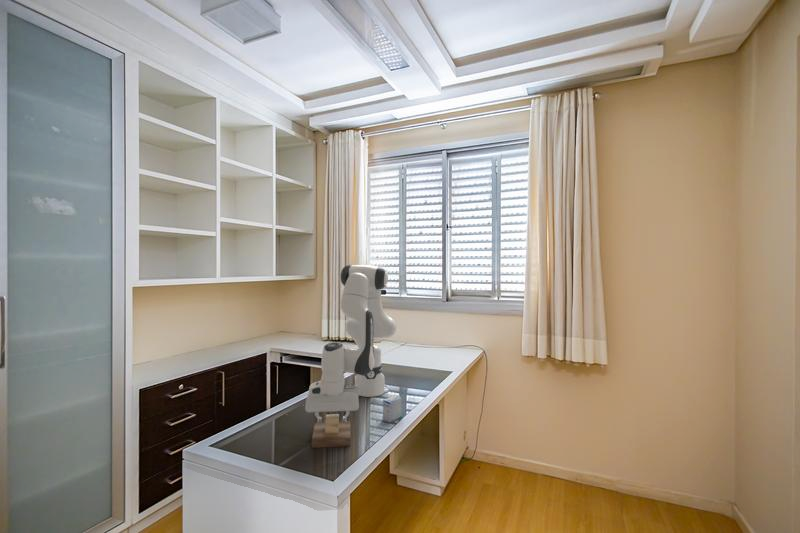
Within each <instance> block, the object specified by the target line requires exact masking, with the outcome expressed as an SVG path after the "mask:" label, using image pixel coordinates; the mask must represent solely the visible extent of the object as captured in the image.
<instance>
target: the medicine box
mask: <svg viewBox="0 0 800 533" xmlns="http://www.w3.org/2000/svg"><path fill="white" fill-rule="evenodd" d="M402 411H403V398H402V397H401V396H398V395H395V394H394V395H392V396H389V397H387V398H385V399H383V400H382V420H383V421H385V422H387V423H392V422H393V421H395V420H396V421H397V419H400V418H401V417H402Z"/></svg>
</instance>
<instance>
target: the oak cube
mask: <svg viewBox="0 0 800 533" xmlns="http://www.w3.org/2000/svg"><path fill="white" fill-rule="evenodd" d="M324 418H325V419H324V422H325V433H339V422H340V414H339V413H335V414H334V413H332V414H325V417H324Z"/></svg>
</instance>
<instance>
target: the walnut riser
mask: <svg viewBox="0 0 800 533" xmlns="http://www.w3.org/2000/svg"><path fill="white" fill-rule="evenodd" d="M351 433H352V432H351V421H350V420H347V422H343V421H339V433H325V421H322V423H318V421H317V422H314V426H313V432H312V436H311V448H312V449H313V448H315V449H316V448H332V447H333V448H334V447H350V446H351V440H352V439H351Z"/></svg>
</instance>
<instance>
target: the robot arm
mask: <svg viewBox="0 0 800 533" xmlns="http://www.w3.org/2000/svg"><path fill="white" fill-rule="evenodd" d="M340 272H341V273H340V283H341V284H342V285H343V286H344V288H343V291H342V296H341V300H340V309H341V311H342V313H343V314H344V315H345V316H346V317H347V318H349V319H347V321H346V323H345V331H346V333H347V335H348V336H349V337H350V338H351V339H352V340H354V343H355V344H356V345H357V348H354V347H346V346H344V345H343V343H341V342H337V341H335V342H329V343H327V344H325V345H324V346H323V349H322V352H321V353H322V354H321V363H320V365H321V366H320V367H321V373H322V375H321V377H320V378H321V379H320V380H317V381H315V382H312V383H311V384H310V385H309V388H308V393H307V396H306V400H305V407H304V408H305V409H304V410H305V411H306V413H314V416H315V417H316V419H317V422H318V423H322V422H323V417H322V416H320V415H319V413H326V412H329V413H331V412H345V415H343V416H342V422H347V421H348V420H347V418H348V417H349V415H350V412H354V411H358V409H359V408H360V402H359V401H360V400H359V397H364V398H365V397H367V398H371V397H372V398H373V397H378V396H382V395H383V394H386V393H387V392H389V388H387V387H386V386H385V385H386V383H385V381H386V380H385V375H384V373H382V372H383V366H382V350H381V348H380V347H379V346H378V345H376V344H375V343H374V339H387V338H392V337H394V335H395V334H396V332H397V331H396V330H397V324H396V322H395V320H394V319H393V318H392V317H390V316H389V315H388V314H387V313H386V312H385V310H384V308H383V304H382V303H383V302H382V289H383V290H384V289H385V288H386V286H387V284H388V281H389V274H388V271H387V269H386V268H385V267H382V266H376V265H369V264H361V265H360V264H356V265H355V264H347V265H345V266H344V267H343V268H342V269H341V271H340ZM344 373H347V374H355V375H356V376H354V381H355V382H354V385H345V374H344Z"/></svg>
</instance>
